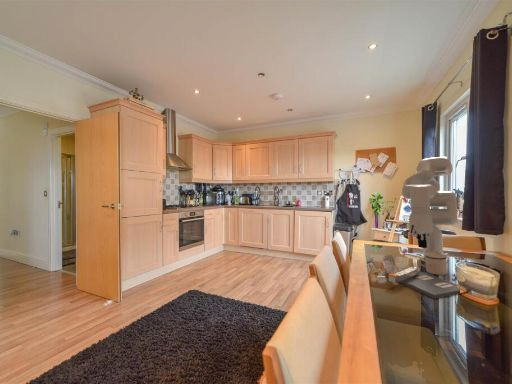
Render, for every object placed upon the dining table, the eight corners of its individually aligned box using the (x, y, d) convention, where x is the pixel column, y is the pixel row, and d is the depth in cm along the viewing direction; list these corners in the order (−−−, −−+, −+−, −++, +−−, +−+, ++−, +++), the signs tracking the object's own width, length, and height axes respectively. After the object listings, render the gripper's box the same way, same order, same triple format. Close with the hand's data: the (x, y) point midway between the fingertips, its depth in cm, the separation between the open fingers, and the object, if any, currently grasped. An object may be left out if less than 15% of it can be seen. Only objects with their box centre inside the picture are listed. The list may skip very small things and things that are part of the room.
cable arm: (413, 270, 117) (413, 264, 117) (421, 272, 114) (421, 266, 114) (388, 281, 107) (387, 274, 107) (396, 283, 103) (395, 276, 103)
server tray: (422, 274, 117) (422, 270, 117) (468, 292, 97) (468, 287, 97) (393, 279, 114) (393, 275, 114) (434, 298, 93) (433, 293, 93)
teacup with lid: (445, 270, 121) (444, 248, 121) (448, 276, 113) (447, 253, 113) (418, 267, 127) (417, 247, 127) (419, 273, 120) (418, 251, 120)
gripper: (425, 208, 116) (427, 243, 116) (401, 211, 113) (403, 247, 113) (440, 209, 109) (442, 247, 109) (414, 212, 106) (417, 251, 106)
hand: (422, 247), depth 111 cm, fingers closed
